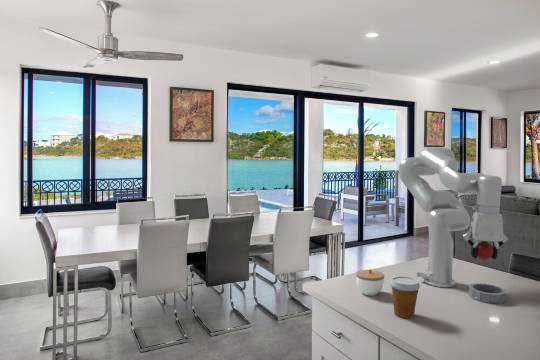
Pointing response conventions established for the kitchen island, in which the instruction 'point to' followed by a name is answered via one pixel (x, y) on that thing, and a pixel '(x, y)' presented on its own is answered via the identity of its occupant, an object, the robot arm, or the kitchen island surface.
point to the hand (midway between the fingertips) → (483, 257)
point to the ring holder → (487, 293)
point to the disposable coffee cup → (404, 296)
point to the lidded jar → (369, 281)
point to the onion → (484, 250)
